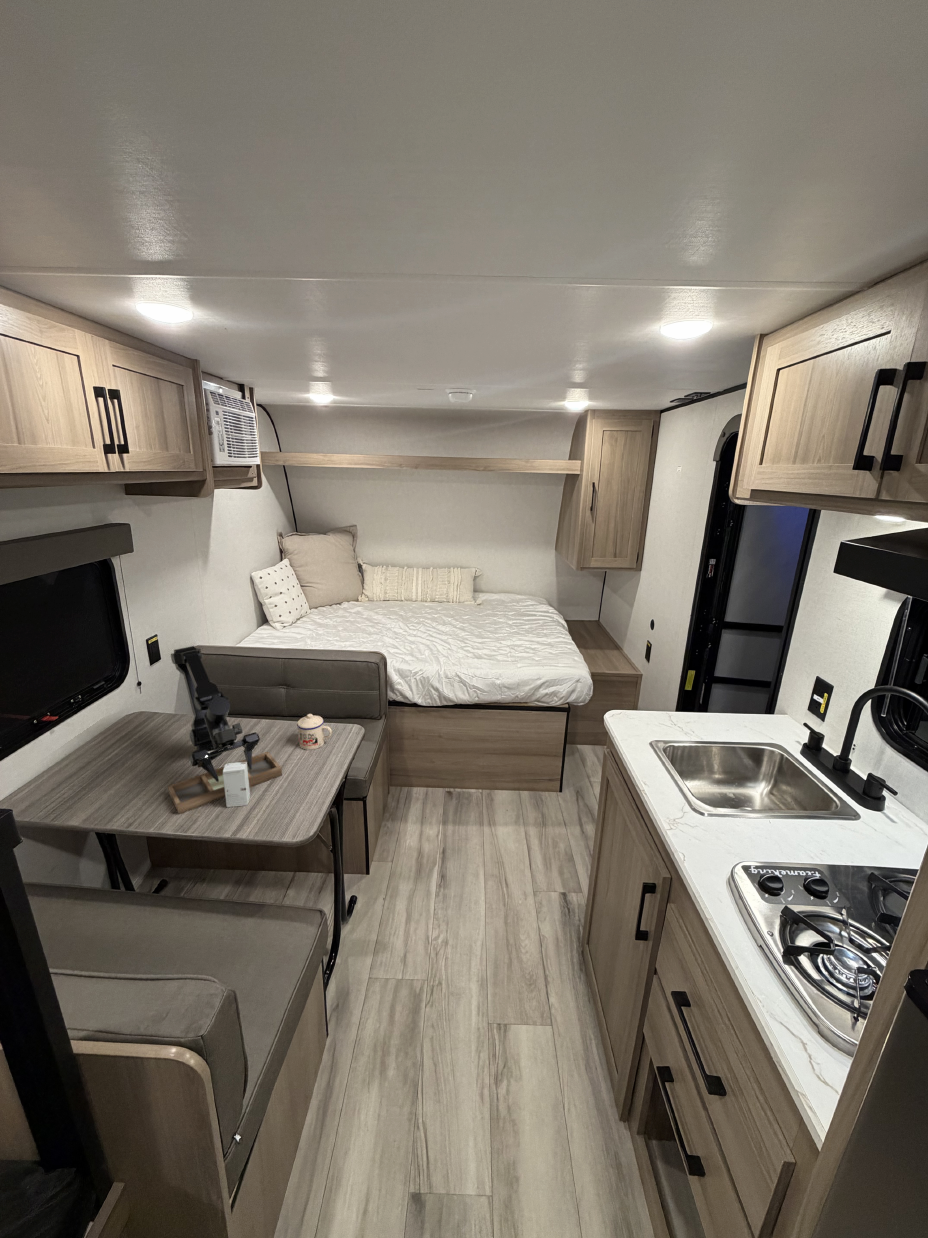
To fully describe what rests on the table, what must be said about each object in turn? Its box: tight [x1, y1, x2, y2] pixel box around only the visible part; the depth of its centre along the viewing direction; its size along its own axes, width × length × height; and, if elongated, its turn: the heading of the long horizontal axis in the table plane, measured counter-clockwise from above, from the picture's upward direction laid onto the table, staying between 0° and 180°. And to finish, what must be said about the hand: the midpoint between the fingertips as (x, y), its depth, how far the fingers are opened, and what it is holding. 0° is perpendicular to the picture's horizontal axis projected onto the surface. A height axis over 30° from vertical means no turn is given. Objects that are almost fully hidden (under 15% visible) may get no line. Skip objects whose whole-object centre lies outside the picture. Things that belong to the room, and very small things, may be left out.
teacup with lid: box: [296, 713, 333, 751], centre depth 179 cm, size 12×9×12 cm
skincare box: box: [223, 761, 251, 808], centre depth 148 cm, size 6×4×12 cm
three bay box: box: [167, 751, 283, 815], centre depth 157 cm, size 12×30×3 cm, turn 131°
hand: (234, 775), depth 148 cm, fingers open, 9 cm apart
